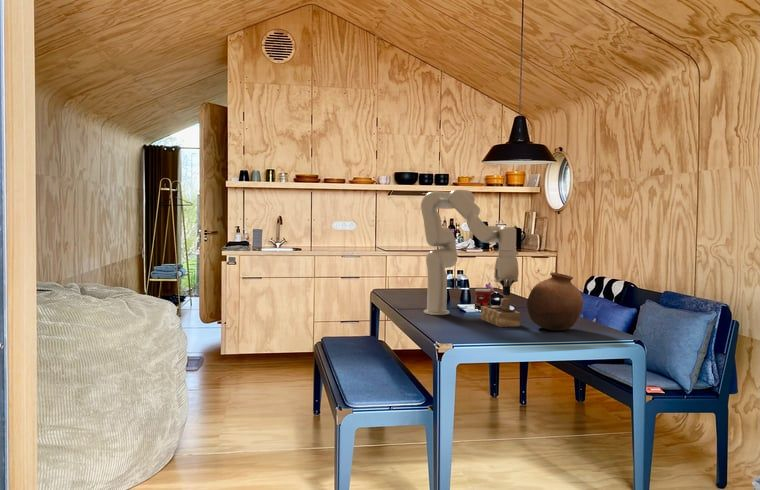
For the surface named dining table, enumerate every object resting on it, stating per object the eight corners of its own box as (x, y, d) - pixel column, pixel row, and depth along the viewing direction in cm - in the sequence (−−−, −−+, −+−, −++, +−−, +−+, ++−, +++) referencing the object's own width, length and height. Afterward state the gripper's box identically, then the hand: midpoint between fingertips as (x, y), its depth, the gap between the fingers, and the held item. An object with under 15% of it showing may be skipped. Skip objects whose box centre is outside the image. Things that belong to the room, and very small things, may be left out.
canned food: (472, 309, 315) (472, 288, 314) (486, 309, 317) (486, 288, 316) (478, 312, 307) (479, 290, 307) (493, 312, 310) (493, 290, 309)
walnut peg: (498, 312, 278) (499, 298, 278) (506, 312, 279) (507, 298, 279) (503, 314, 274) (503, 299, 274) (511, 314, 275) (511, 299, 275)
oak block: (480, 319, 289) (481, 305, 289) (499, 318, 292) (500, 304, 292) (499, 326, 271) (500, 312, 271) (519, 326, 274) (520, 311, 274)
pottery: (517, 326, 274) (519, 270, 272) (560, 323, 282) (562, 269, 280) (548, 336, 252) (550, 276, 251) (593, 333, 261) (596, 275, 259)
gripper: (517, 253, 281) (517, 293, 282) (488, 254, 276) (487, 294, 277) (526, 254, 274) (525, 295, 275) (496, 255, 269) (495, 296, 270)
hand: (506, 294), depth 276 cm, fingers closed
